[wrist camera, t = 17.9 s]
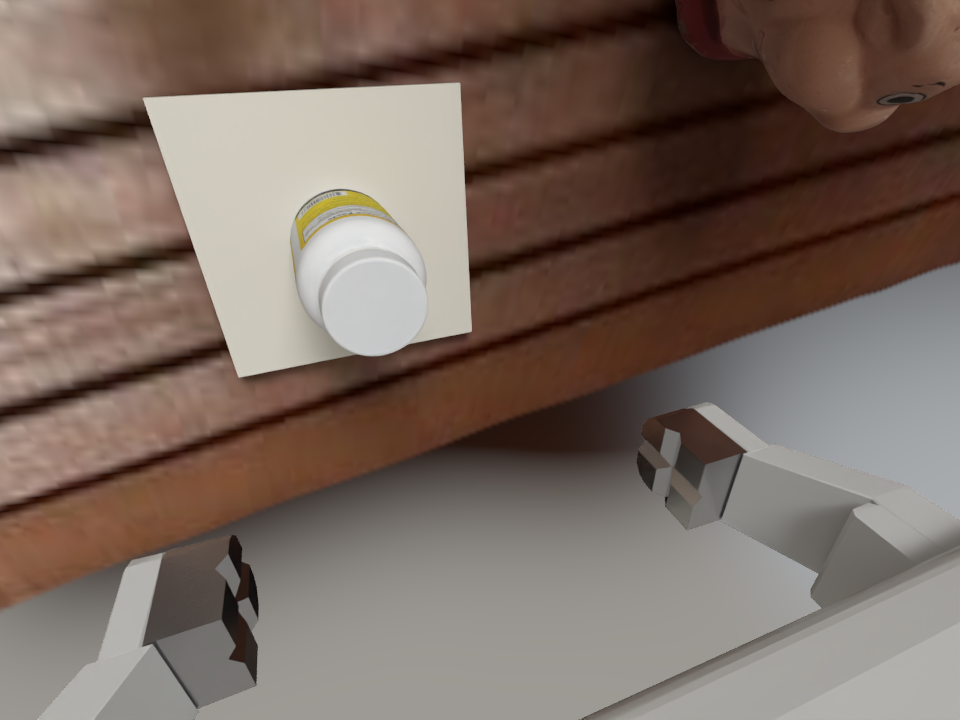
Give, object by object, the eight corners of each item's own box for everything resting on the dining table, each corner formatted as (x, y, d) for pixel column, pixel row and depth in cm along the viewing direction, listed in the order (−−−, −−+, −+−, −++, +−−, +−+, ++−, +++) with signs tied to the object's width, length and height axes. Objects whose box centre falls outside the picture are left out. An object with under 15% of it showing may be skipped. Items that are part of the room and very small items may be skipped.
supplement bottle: (375, 298, 28) (414, 386, 20) (277, 268, 26) (278, 356, 18) (409, 209, 26) (467, 267, 19) (308, 167, 24) (325, 214, 16)
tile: (147, 97, 21) (142, 98, 21) (453, 82, 25) (460, 82, 24) (239, 368, 29) (238, 377, 28) (466, 325, 32) (471, 331, 32)
